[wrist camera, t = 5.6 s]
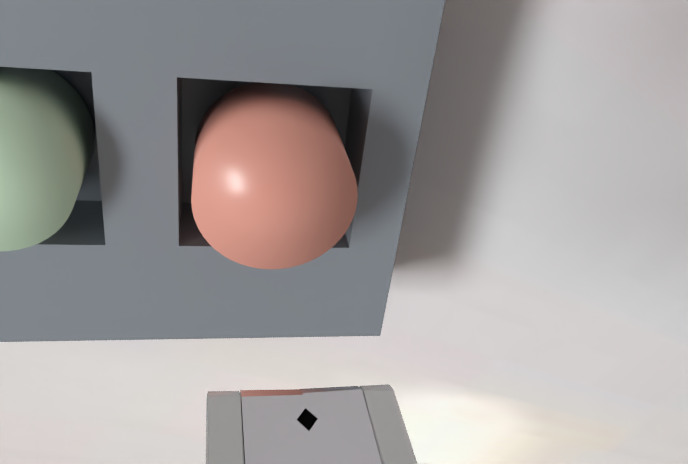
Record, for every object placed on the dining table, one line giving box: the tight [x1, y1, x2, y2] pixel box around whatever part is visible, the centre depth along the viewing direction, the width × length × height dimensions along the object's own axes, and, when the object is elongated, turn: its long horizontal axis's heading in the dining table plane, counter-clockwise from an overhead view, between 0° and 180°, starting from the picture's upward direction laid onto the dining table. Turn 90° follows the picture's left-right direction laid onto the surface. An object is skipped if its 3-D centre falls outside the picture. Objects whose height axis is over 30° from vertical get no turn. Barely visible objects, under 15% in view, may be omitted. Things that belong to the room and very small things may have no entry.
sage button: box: [0, 67, 95, 251], centre depth 17 cm, size 4×4×3 cm
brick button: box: [191, 82, 358, 269], centre depth 18 cm, size 4×4×3 cm
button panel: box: [0, 0, 445, 342], centre depth 18 cm, size 22×12×4 cm, turn 83°
